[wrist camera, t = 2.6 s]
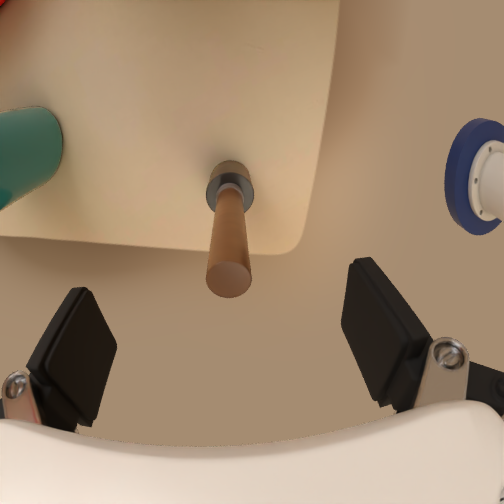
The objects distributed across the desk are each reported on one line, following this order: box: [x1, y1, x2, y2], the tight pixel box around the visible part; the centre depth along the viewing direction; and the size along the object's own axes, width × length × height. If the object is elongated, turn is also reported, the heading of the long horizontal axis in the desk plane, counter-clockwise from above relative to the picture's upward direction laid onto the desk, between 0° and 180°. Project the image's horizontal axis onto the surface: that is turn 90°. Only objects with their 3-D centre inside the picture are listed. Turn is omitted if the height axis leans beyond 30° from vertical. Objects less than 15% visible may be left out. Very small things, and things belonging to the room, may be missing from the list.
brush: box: [206, 161, 254, 298], centre depth 18 cm, size 4×4×16 cm
